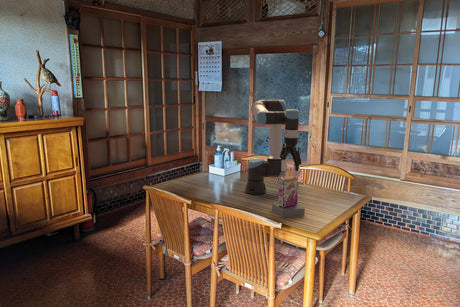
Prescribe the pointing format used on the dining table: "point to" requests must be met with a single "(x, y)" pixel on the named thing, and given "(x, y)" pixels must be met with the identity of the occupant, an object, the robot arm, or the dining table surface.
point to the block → (288, 210)
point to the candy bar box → (287, 191)
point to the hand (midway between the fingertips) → (289, 173)
